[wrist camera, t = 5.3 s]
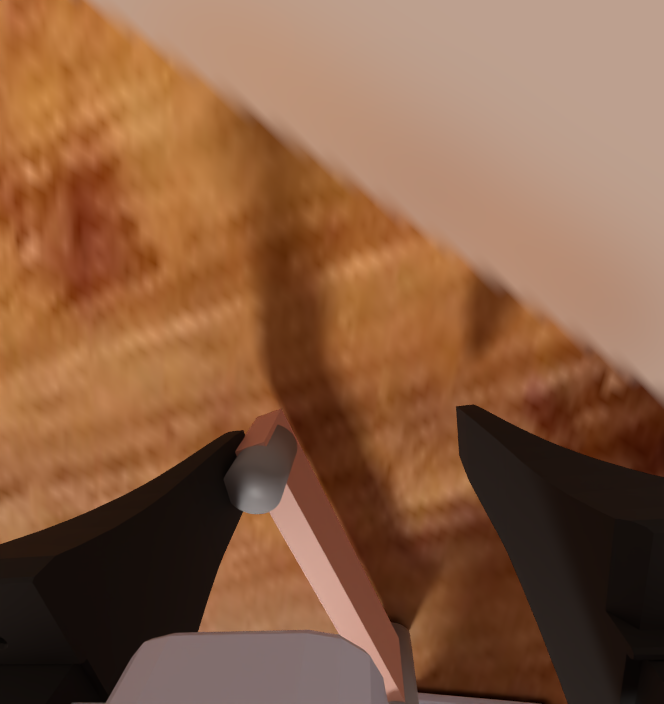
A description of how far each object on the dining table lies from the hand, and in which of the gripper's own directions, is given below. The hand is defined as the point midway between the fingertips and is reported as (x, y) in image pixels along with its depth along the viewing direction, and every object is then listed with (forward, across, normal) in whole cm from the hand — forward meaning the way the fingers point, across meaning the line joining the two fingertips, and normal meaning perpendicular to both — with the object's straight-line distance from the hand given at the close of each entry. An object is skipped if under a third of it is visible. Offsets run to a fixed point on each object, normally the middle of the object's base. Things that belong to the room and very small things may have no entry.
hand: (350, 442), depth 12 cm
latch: (+2, +1, +7) cm, 8 cm away
